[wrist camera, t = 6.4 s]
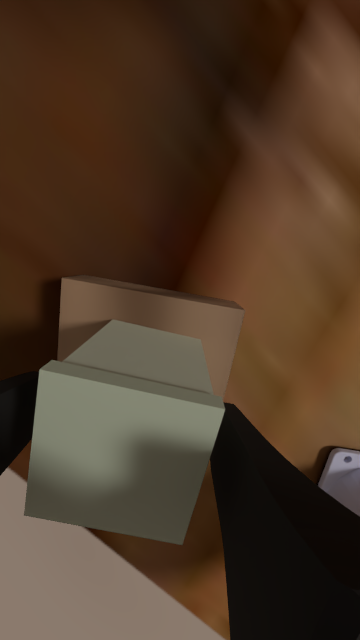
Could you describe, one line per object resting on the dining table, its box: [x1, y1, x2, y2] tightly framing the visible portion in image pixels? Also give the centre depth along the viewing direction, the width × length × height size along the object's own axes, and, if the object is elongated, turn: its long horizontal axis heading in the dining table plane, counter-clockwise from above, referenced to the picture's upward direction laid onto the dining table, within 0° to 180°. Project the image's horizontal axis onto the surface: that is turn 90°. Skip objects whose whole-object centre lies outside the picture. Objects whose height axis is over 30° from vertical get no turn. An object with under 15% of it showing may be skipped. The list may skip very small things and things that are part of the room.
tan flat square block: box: [57, 275, 245, 400], centre depth 14 cm, size 9×9×3 cm
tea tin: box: [24, 320, 225, 545], centre depth 10 cm, size 5×5×6 cm
